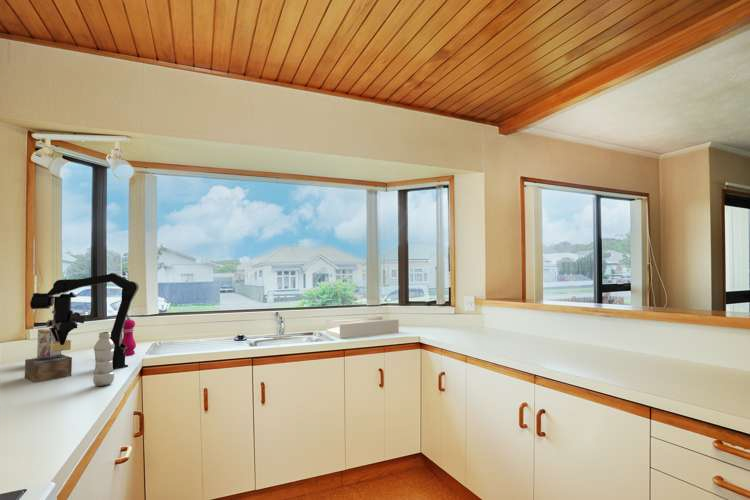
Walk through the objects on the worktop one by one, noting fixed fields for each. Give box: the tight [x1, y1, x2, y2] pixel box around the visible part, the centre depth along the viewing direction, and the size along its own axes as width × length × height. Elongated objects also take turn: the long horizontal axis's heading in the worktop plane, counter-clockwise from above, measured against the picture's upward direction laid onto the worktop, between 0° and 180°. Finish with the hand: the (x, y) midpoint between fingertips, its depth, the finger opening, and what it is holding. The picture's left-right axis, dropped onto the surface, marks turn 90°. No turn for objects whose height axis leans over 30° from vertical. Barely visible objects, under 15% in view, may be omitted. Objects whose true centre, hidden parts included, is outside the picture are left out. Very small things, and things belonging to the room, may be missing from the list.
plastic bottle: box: [92, 331, 115, 387], centre depth 147 cm, size 6×7×20 cm
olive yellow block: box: [50, 339, 72, 352], centre depth 166 cm, size 6×4×4 cm, turn 144°
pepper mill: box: [122, 316, 137, 357], centre depth 201 cm, size 7×7×20 cm
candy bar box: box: [36, 327, 62, 358], centre depth 182 cm, size 11×5×16 cm, turn 65°
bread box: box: [325, 316, 400, 340], centre depth 265 cm, size 45×22×10 cm, turn 120°
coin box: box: [24, 353, 73, 384], centre depth 159 cm, size 12×12×8 cm
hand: (60, 344), depth 166 cm, fingers closed on olive yellow block, 4 cm apart
